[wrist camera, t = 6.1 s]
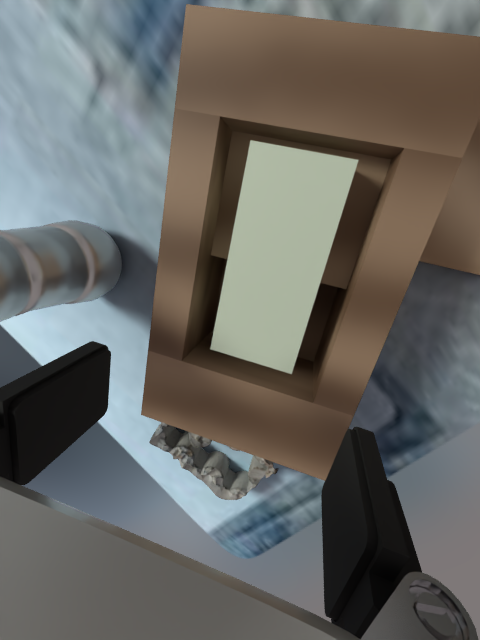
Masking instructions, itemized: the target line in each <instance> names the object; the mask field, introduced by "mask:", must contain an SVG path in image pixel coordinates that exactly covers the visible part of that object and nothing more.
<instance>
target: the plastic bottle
mask: <svg viewBox="0 0 480 640" xmlns="http://www.w3.org/2000/svg"><path fill="white" fill-rule="evenodd" d="M121 269H122V258H121V254H120V251H119V249H118V246H117V245H116V243H115V242H114V240H113V239H112V238H111V236H110V235H109V234H108V233H107V232H106V231H104V230H103V229H102V228H100V227H98V226H96V225H92V224H89V223H84V222H80V221H72V220H69V221H63V222H56V223H52V224H48V225H44V226H40V227H30V228H20V229H10V230H0V321H3V320H6V319H9V318H11V317H14V316H17V315H20V314H23V313H26V312H28V311H32V310H37V309H42V308H47V307H51V306H56V305H61V304H74V303H81V302H88V301H93V300H95V299H98V298H99V297H101V296H103V295H104V294H106V293H107V292H109V291H110V290H112V289H113V288H114V286H115V285H116V284H117V282H118V280H119V277H120V274H121Z"/></svg>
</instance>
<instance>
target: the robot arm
mask: <svg viewBox="0 0 480 640" xmlns="http://www.w3.org/2000/svg"><path fill="white" fill-rule="evenodd" d="M110 361H111V352H110V351H109V350H108V347H107V346H106V345H103V344H100V343H97V342H93V341H92V342H89V343H87V344H85V345H83V346H81V347H79V348H77V349H75V350H73V351H71V352H69V353H67V354H65V355H63V356H61V357H60V358H58V359H56V360H54V361H52V362H50V363H48V364H46V365H44V366H42V367H40V368H38V369H36V370H34V371H32V372H30V373H28V374H26V375H24V376H23V377H20V378H18V379H17V380H15V381H13V382H11V383H9V384H7V385H5V386H3V387H1V388H0V640H478V636H477V632H476V628H475V626H474V624H473V622H472V620H471V618H470V616H469V614H468V612H467V611H466V609H465V608H464V607H463V605H462V604H461V602H460V601H459V600H458V599H457V598H456V597H455V595H454V594H453V593H452V592H451V591H450V590H449V589H448V588H447V587H445V586H444V585H443V584H442V583H441V582H439V581H438V580H436V579H435V578H433V577H431V576H429V575H427V574H424V573H422V571H421V567H420V564H419V561H418V558H417V554H416V551H415V548H414V545H413V541H412V538H411V535H410V532H409V529H408V526H407V522H406V519H405V516H404V513H403V510H402V506H401V503H400V500H399V497H398V494H397V491H396V488H395V485H394V484H393V483H392V482H391V481H389V480H387V477H386V474H385V471H384V467H383V464H382V460H381V457H380V453H379V450H378V446H377V443H376V440H375V436H374V433H373V432H371V431H368V430H365V429H362V428H359V427H354V428H353V430H351V429H348V430H347V431H346V433H345V435H344V438H343V440H342V443H341V445H340V447H339V450H338V452H337V454H336V457H335V459H334V462H333V464H332V466H331V469H330V471H329V473H328V476H327V478H326V480H325V483H324V485H323V489H322V533H323V569H324V602H325V614H326V616H327V617H329V618H331V621H332V622H331V623H330V622H329V621H327V620H325V619H323V618H321V617H319V616H317V615H315V614H313V613H311V612H309V611H307V610H304V609H302V608H300V607H298V606H296V605H294V604H291V603H289V602H287V601H285V600H283V599H280V598H278V597H276V596H274V595H272V594H270V593H267V592H265V591H263V590H261V589H259V588H257V587H255V586H252V585H250V584H248V583H245V582H243V581H241V580H239V579H236V578H234V577H232V576H229V575H227V574H225V573H223V572H220V571H218V570H216V569H214V568H211V567H209V566H207V565H204V564H202V563H200V562H198V561H195V560H193V559H191V558H189V557H186V556H184V555H182V554H179V553H177V552H175V551H173V550H170V549H168V548H166V547H163V546H161V545H159V544H157V543H154V542H152V541H150V540H147V539H145V538H142V537H140V536H138V535H136V534H133V533H131V532H129V531H127V530H124V529H122V528H119V527H117V526H115V525H112V524H110V523H108V522H105V521H103V520H101V519H99V518H96V517H94V516H92V515H89V514H87V513H84V512H82V511H80V510H78V509H75V508H73V507H71V506H68V505H66V504H64V503H61V502H59V501H57V500H54V499H52V498H49V497H47V496H45V495H42V494H40V493H38V492H35V491H33V490H31V489H28V488H26V487H24V486H21V485H25V484H27V483H29V482H30V481H31V480H32V479H33V478H35V477H36V476H37V475H38V474H39V473H40V472H41V471H42V470H43V469H45V468H46V467H47V466H48V465H49V464H50V463H51V462H52V461H53V460H55V459H56V458H57V457H58V456H59V455H60V454H61V453H63V452H64V451H65V450H66V449H67V448H68V447H69V446H70V445H71V444H72V443H74V442H75V441H76V440H77V439H78V438H79V437H80V436H81V435H83V434H84V433H85V432H86V431H87V430H88V429H89V428H90V427H91V426H93V425H94V424H95V423H96V422H97V421H98V420H99V419H101V418H102V417H103V416H104V414H105V413H106V411H107V408H108V394H109V378H110Z"/></svg>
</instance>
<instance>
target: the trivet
mask: <svg viewBox="0 0 480 640" xmlns="http://www.w3.org/2000/svg"><path fill="white" fill-rule="evenodd" d="M419 261H421V262H425V263H430V264H434V265H438V266H443V267H447V268H451V269H456V270H460V271H465V272H469V273H473V274H478V275H480V118H479V121H478V123H477V125H476V128H475V130H474V132H473V135H472V137H471V139H470V142H469V144H468V147H467V149H466V151H465V154H464V156H463V158H462V161H461V163H460V166H459V168H458V170H457V173H456V175H455V177H454V180H453V182H452V184H451V187H450V189H449V192H448V194H447V196H446V199H445V201H444V203H443V206H442V208H441V210H440V213H439V215H438V218H437V220H436V222H435V225H434V227H433V229H432V232H431V234H430V236H429V239H428V241H427V244H426V246H425V248H424V251H423V253H422V255H421V258H420V260H419Z"/></svg>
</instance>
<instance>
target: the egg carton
mask: <svg viewBox="0 0 480 640" xmlns="http://www.w3.org/2000/svg"><path fill="white" fill-rule="evenodd" d="M211 441H212V440H210V439H207V438H205V437H202V436H199V435H196V434H194V433H191V432H188V431H187V432H184V433H181V432H179V431H178V430H177V429H175V427H174V426H171V425H168V424H166V423H163V422H162V423H161V424H160V425H159V426H158V428H157V429H156V431H155V433H154V434H153V436H152V438H151V440H150V444H152V445H154V446H156V447H158V448H160V449H162V450H164V451H166V452H169V453H171V454H172V455H173V459H178V460H179V461H180V464H181V467H182V468H184V469H186V470H188V471H190V472H191V473H192V474H193V475H195V476H196V477H197V478H198V479H200V480H202V481H203V482H204V483H205V484H206V485H207V486H208V487H209V488H210V489H211V490H212V491H213V493H214V494H215V495H216V496H218V497H219V498H221V499H225V500H238V499H240V498H242V497H243V496H246V494H247V493H248V492H249V491H250V490H251V489H252V488H253V487H254V488H255V487H256V486H257V484H258V483H259V481H260V480H261V478H263V477H264V476H265V475H266V478H268V477H269V476H271V475H272V474H276V473H277V471H278V468H277V469H274V468H273V462H272V461H269V460H266V459H263V458H260V457H258V456H255V455H254V456H253V458H252V461H251V465H250V468H249V472H247V471H239V472H237V473H234V472H233V471H232V470H230V469H229V468H228V467H229V459H228V457H227V456H226V455H225V454H224V453H222V452H219V451H213V452H211V453H207V452H206V451H205V450H203V449H202V448H201V447H206V446H208V445H210V444H211ZM229 447H230V446H229ZM230 448H231V449H233V450H236V451H240V450H238V449H235V448H233V447H230Z"/></svg>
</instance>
